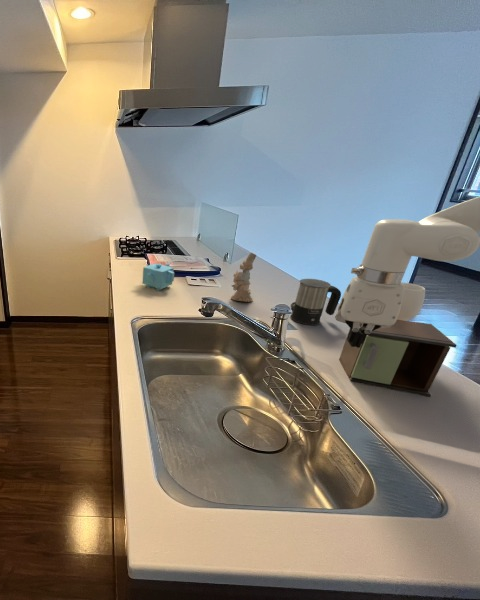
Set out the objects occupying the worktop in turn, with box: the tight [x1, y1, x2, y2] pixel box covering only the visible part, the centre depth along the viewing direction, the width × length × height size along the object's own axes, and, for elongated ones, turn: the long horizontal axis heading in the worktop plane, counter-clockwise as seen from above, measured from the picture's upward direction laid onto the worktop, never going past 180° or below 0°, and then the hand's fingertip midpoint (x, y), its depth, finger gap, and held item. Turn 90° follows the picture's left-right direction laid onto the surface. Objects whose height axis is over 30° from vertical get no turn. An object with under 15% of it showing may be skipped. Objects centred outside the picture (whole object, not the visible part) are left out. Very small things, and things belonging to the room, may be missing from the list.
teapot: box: [141, 262, 176, 291], centre depth 151 cm, size 16×18×11 cm
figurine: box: [230, 252, 257, 303], centre depth 133 cm, size 9×8×20 cm
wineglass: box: [397, 281, 426, 321], centre depth 95 cm, size 9×9×21 cm
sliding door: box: [351, 335, 409, 385], centre depth 80 cm, size 8×4×13 cm, turn 66°
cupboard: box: [338, 320, 457, 398], centre depth 84 cm, size 16×11×15 cm
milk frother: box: [289, 278, 342, 326], centre depth 119 cm, size 14×16×15 cm
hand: (353, 344), depth 80 cm, fingers closed
